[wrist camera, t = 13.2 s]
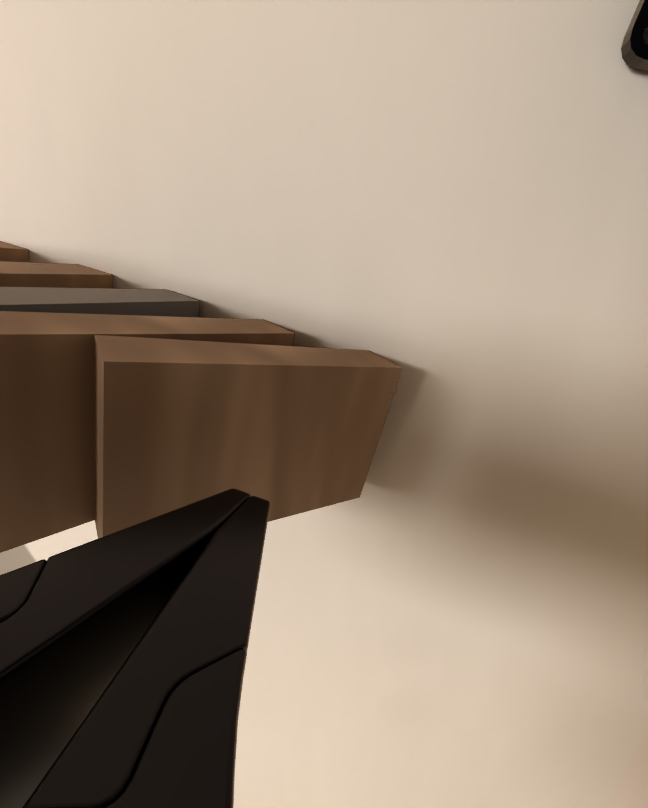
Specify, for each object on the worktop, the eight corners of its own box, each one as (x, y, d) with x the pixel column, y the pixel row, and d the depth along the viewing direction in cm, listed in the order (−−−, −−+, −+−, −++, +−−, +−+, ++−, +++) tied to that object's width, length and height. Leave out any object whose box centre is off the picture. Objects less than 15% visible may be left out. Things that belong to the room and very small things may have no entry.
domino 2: (402, 367, 11) (103, 361, 7) (359, 497, 13) (102, 565, 8) (369, 350, 13) (94, 334, 8) (333, 471, 14) (94, 520, 10)
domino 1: (294, 333, 12) (-35, 334, 6) (268, 459, 14) (-5, 554, 8) (263, 319, 13) (-52, 309, 7) (243, 439, 15) (-21, 512, 9)
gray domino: (199, 300, 13) (-128, 307, 6) (187, 422, 15) (-76, 533, 8) (166, 289, 14) (-174, 283, 7) (158, 408, 16) (-114, 502, 9)
